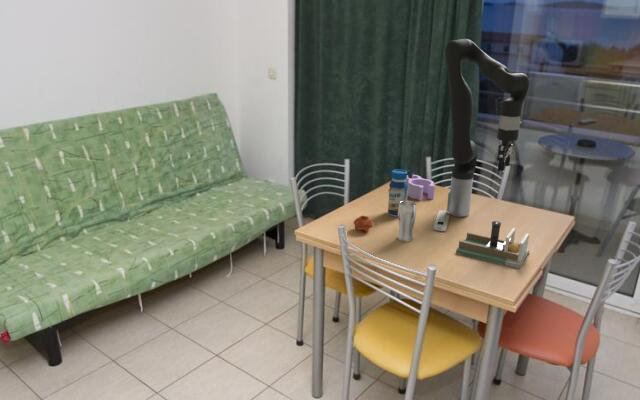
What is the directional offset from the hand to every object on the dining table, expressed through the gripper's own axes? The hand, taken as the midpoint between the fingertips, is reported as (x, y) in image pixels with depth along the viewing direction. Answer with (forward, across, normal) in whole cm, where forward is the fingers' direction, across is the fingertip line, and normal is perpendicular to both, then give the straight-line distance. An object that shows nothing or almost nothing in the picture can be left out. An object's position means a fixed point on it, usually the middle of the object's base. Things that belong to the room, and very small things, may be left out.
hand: (503, 168), depth 203 cm
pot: (+28, +26, -47) cm, 61 cm away
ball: (+25, +18, +11) cm, 32 cm away
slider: (+26, +18, +6) cm, 32 cm away
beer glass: (+28, +24, -29) cm, 47 cm away
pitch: (+28, +18, +4) cm, 34 cm away
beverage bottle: (+28, +1, -43) cm, 51 cm away
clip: (+28, -30, -46) cm, 62 cm away
